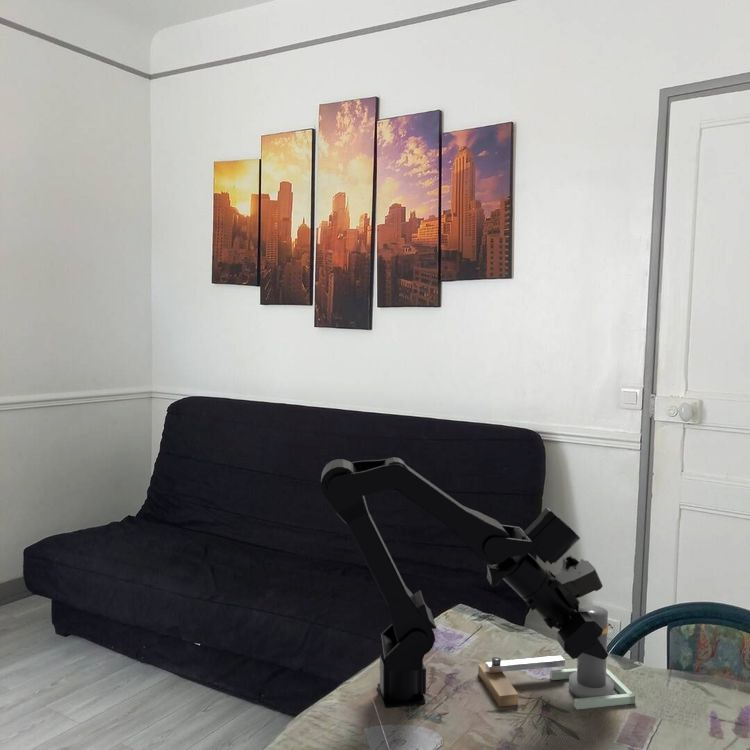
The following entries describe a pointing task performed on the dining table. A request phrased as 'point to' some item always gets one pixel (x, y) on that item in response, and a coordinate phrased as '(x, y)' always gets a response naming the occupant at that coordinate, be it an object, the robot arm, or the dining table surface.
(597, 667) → the plug
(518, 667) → the lever
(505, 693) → the latch rail
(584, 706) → the pale green u-shaped bracket
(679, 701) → the dining table surface
